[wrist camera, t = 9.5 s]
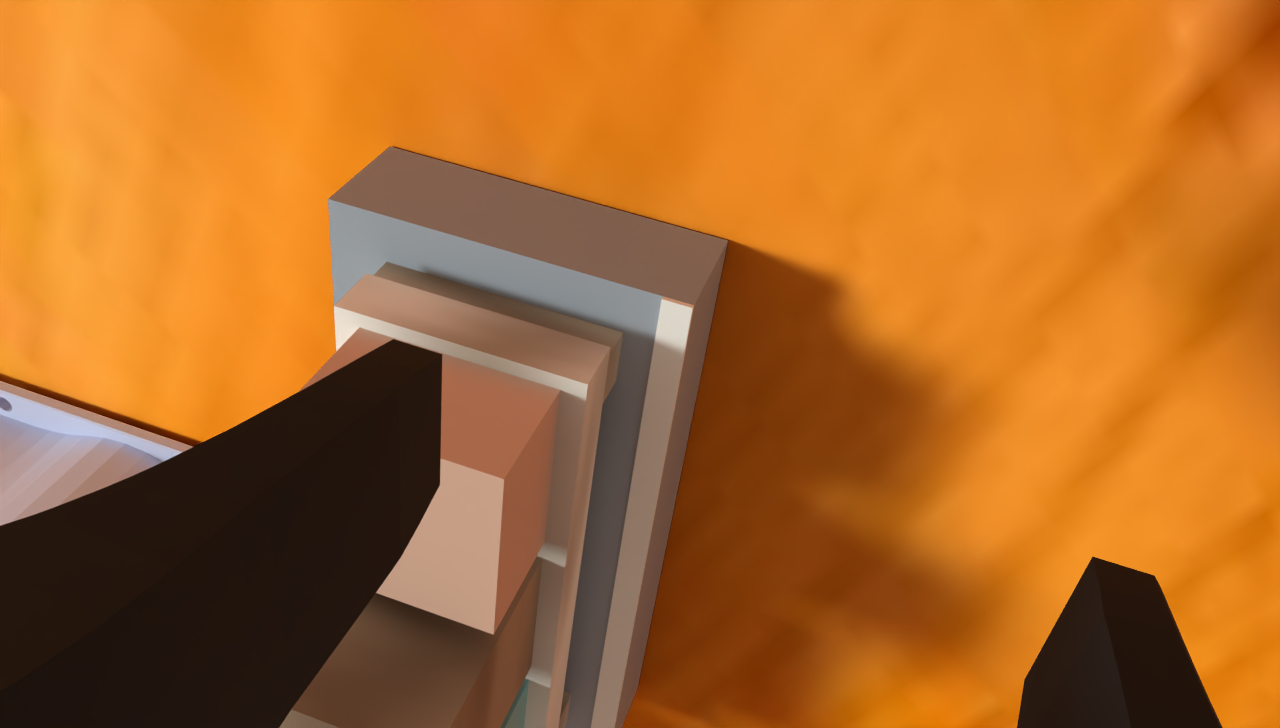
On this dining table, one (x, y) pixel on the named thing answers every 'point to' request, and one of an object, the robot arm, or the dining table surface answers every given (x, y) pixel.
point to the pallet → (569, 441)
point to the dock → (590, 291)
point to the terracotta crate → (476, 490)
